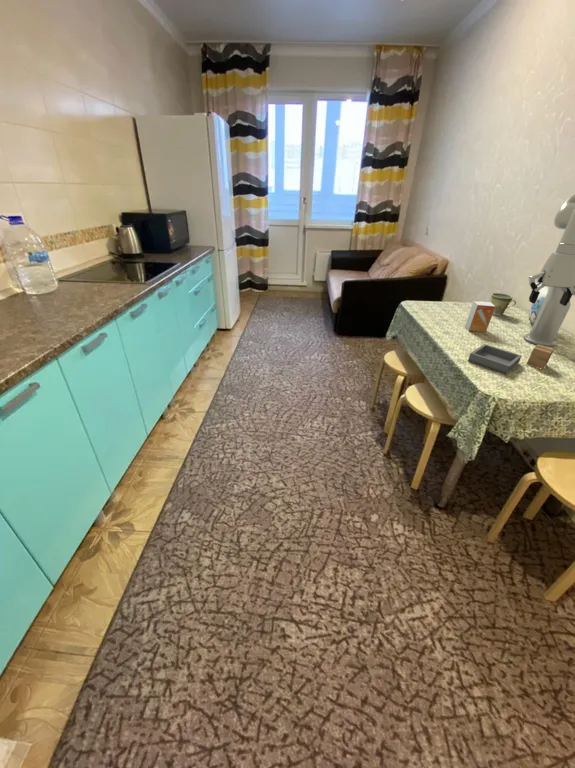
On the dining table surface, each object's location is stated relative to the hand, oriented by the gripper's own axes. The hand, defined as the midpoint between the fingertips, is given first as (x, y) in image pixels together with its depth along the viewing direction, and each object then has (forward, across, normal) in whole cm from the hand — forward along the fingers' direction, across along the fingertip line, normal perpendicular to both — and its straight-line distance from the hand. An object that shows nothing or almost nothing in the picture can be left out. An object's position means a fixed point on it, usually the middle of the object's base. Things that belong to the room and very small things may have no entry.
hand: (547, 303), depth 112 cm
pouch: (+26, -27, -50) cm, 63 cm away
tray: (+26, +7, -4) cm, 27 cm away
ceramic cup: (+26, -17, -68) cm, 74 cm away
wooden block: (+26, -10, -6) cm, 28 cm away
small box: (+26, +3, -40) cm, 48 cm away
